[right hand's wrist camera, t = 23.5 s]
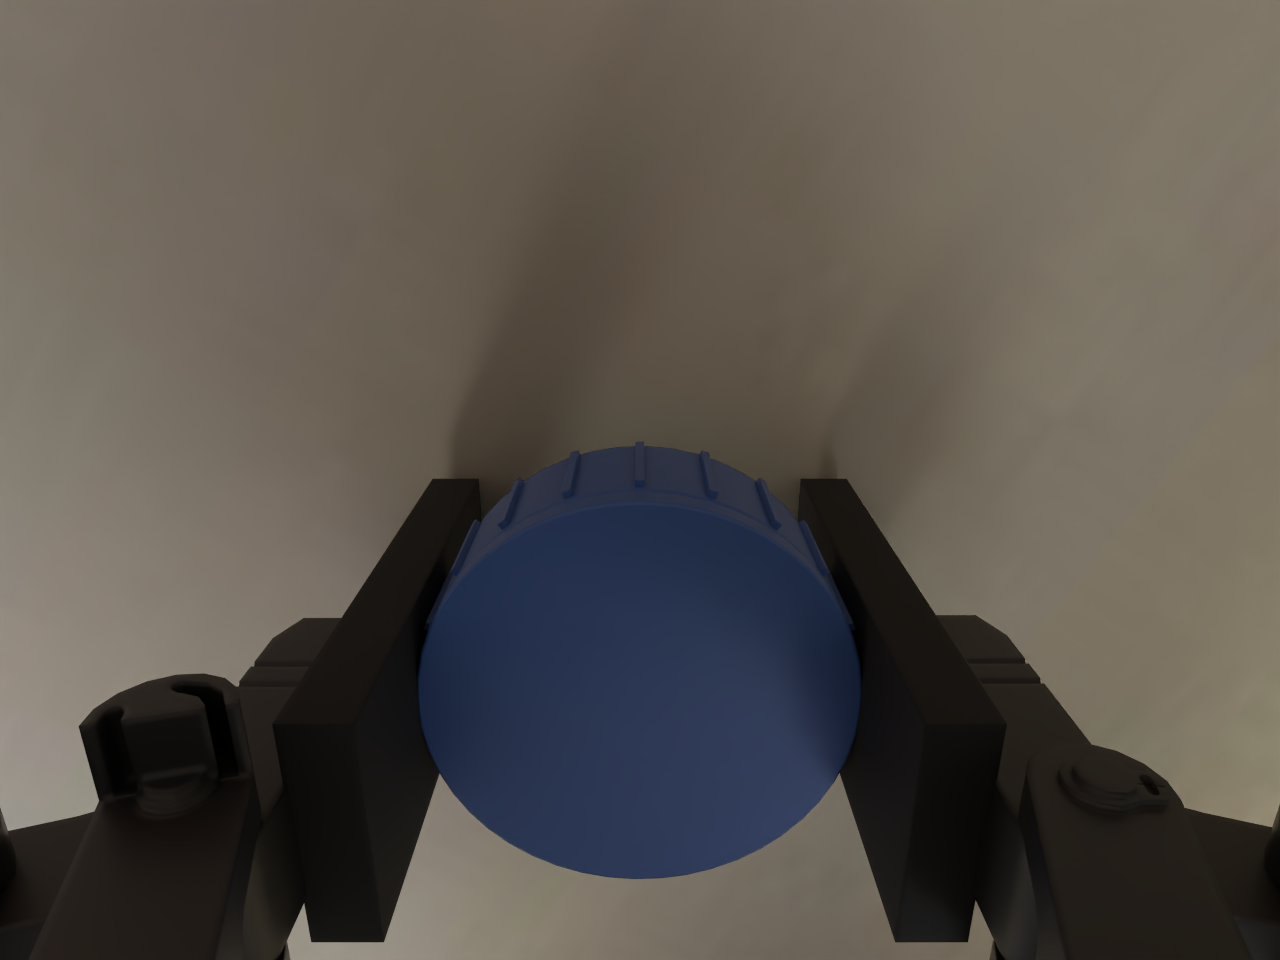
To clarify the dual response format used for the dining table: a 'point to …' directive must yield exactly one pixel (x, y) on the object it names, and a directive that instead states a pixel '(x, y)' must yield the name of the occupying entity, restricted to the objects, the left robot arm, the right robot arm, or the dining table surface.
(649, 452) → the lid
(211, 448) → the dining table surface
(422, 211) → the dining table surface
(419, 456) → the dining table surface
